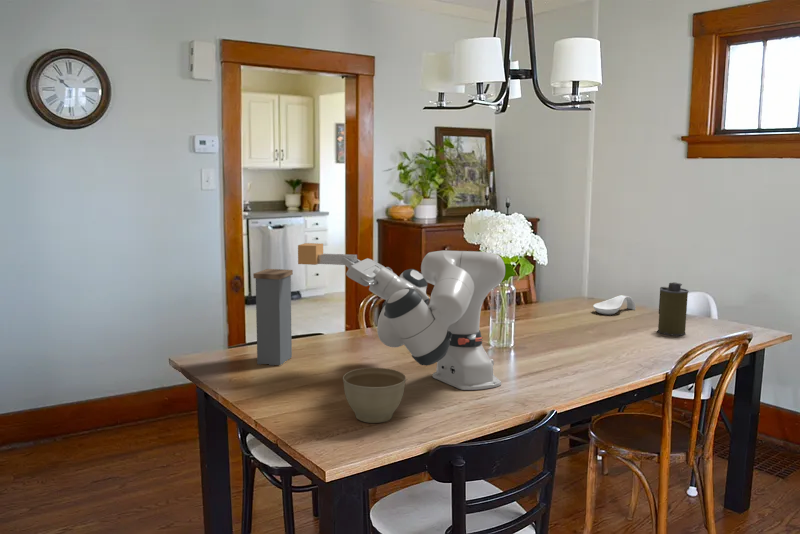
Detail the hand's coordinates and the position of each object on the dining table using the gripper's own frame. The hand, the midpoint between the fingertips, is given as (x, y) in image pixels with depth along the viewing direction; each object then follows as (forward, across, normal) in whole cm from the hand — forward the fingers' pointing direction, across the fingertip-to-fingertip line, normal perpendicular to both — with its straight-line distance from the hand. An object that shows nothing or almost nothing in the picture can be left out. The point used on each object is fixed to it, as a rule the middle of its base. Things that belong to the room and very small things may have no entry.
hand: (344, 258), depth 219 cm
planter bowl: (-36, -42, -21) cm, 59 cm away
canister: (-114, +78, +25) cm, 141 cm away
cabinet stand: (+3, 0, -43) cm, 43 cm away
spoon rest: (-98, +114, +16) cm, 151 cm away
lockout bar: (+4, 0, -4) cm, 6 cm away
